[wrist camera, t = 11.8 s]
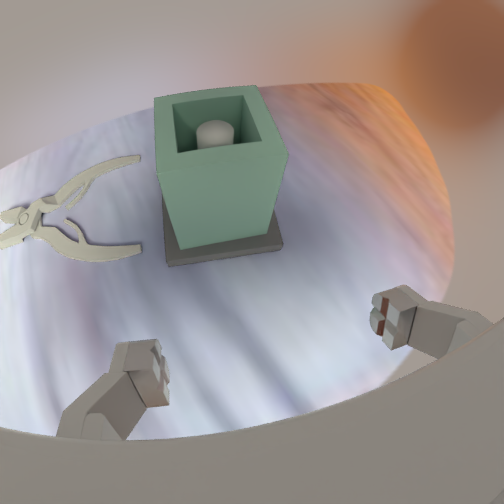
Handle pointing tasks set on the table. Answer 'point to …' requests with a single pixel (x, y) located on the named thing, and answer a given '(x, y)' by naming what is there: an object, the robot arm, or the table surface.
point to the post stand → (209, 137)
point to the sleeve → (218, 165)
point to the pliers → (32, 221)
